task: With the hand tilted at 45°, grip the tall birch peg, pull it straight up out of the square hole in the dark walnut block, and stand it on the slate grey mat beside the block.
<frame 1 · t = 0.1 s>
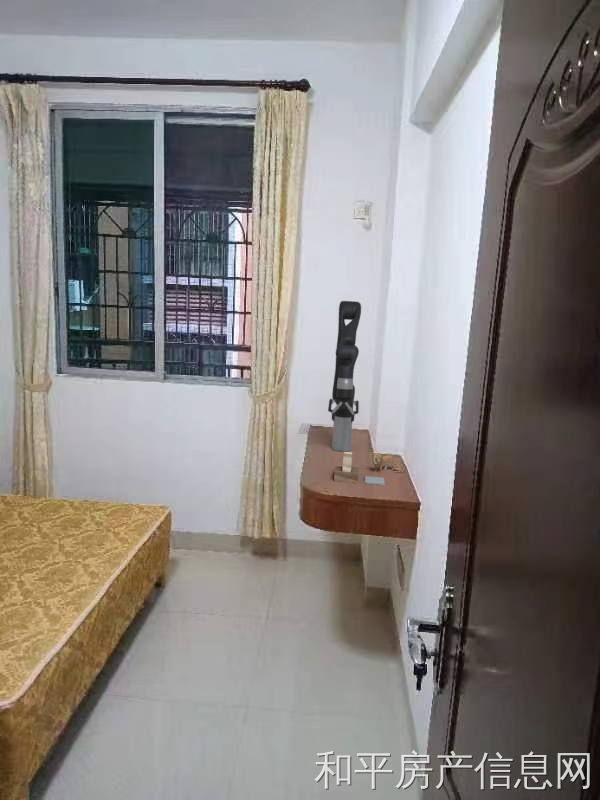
hand: (342, 421, 280), 17 cm above the table, tool pointing down, fingers open, 8 cm apart
slate mat: (374, 481, 250), on the table
lion figurine: (382, 471, 265), on the table
birch peg: (347, 465, 251), in the socket block
socket block: (346, 478, 253), on the table
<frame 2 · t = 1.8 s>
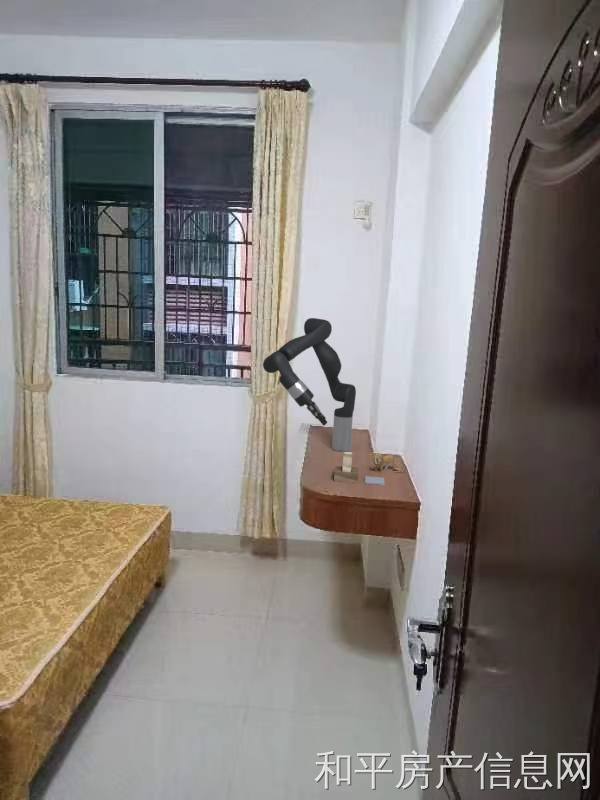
hand: (324, 422, 248), 24 cm above the table, tool tilted 45°, fingers open, 8 cm apart
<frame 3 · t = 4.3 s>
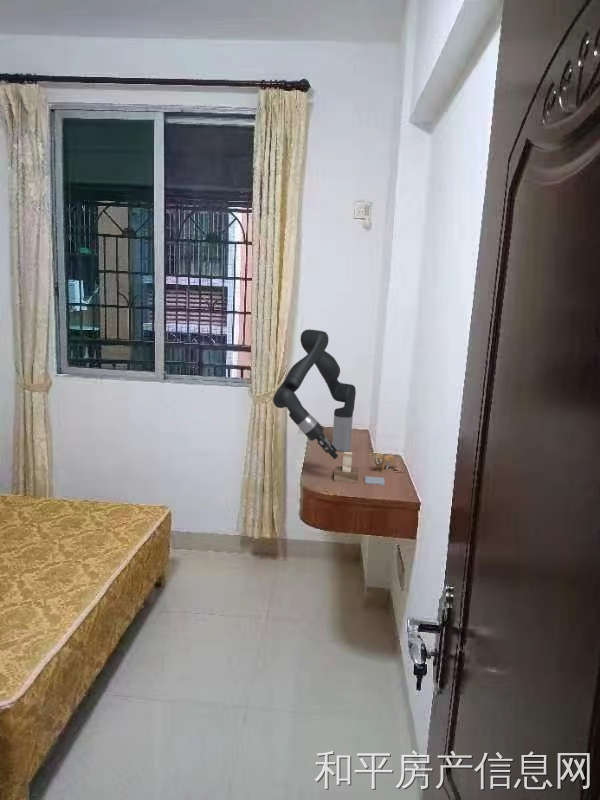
hand: (335, 454, 251), 10 cm above the table, tool tilted 45°, fingers open, 8 cm apart
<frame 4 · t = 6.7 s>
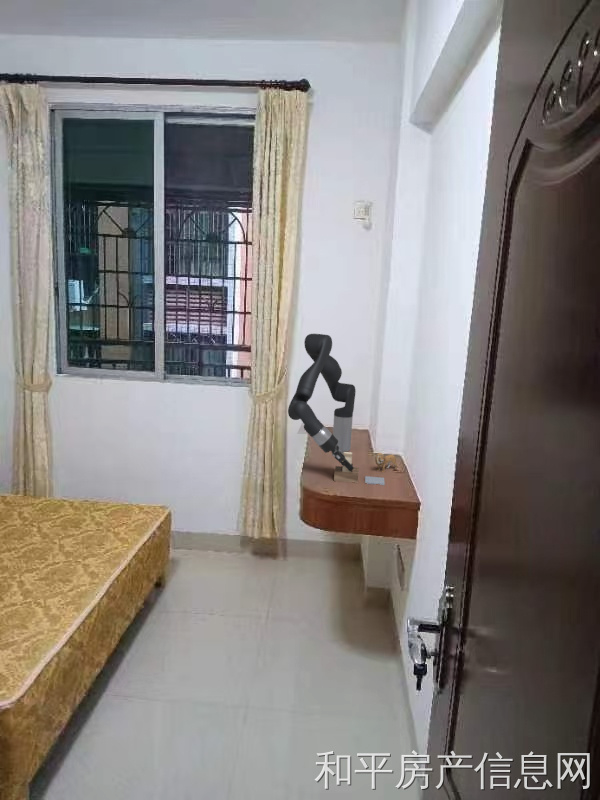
hand: (351, 467, 252), 5 cm above the table, tool tilted 45°, fingers closed on birch peg, 4 cm apart
birch peg: (347, 465, 251), in the socket block, touching gripper
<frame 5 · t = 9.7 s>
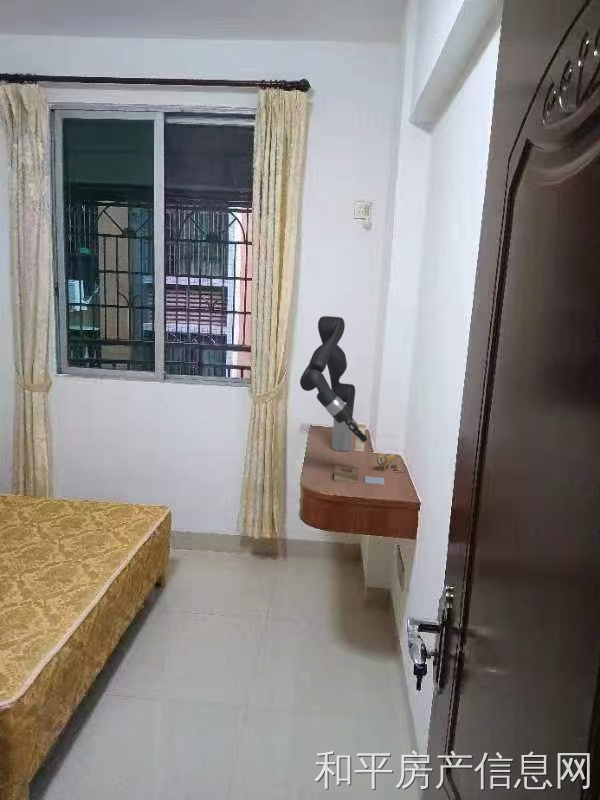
hand: (365, 439, 248), 18 cm above the table, tool tilted 45°, fingers closed on birch peg, 4 cm apart
birch peg: (360, 436, 248), point 19 cm above the table, touching gripper
when the fingers open (6 cm above the table, at t = 12.8 s): birch peg drops 1 cm, resting on slate mat.
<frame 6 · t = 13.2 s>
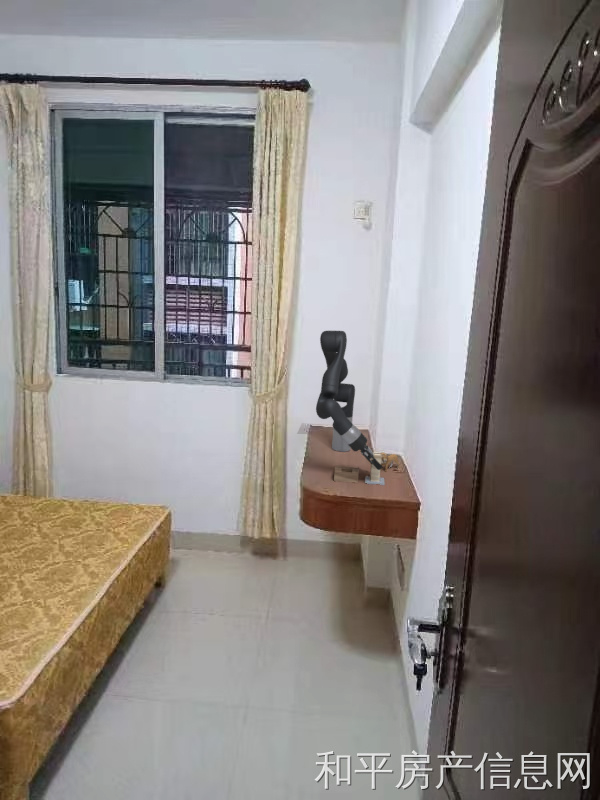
hand: (379, 465, 249), 7 cm above the table, tool tilted 45°, fingers open, 7 cm apart
birch peg: (375, 467, 249), on the slate mat, point 6 cm above the table
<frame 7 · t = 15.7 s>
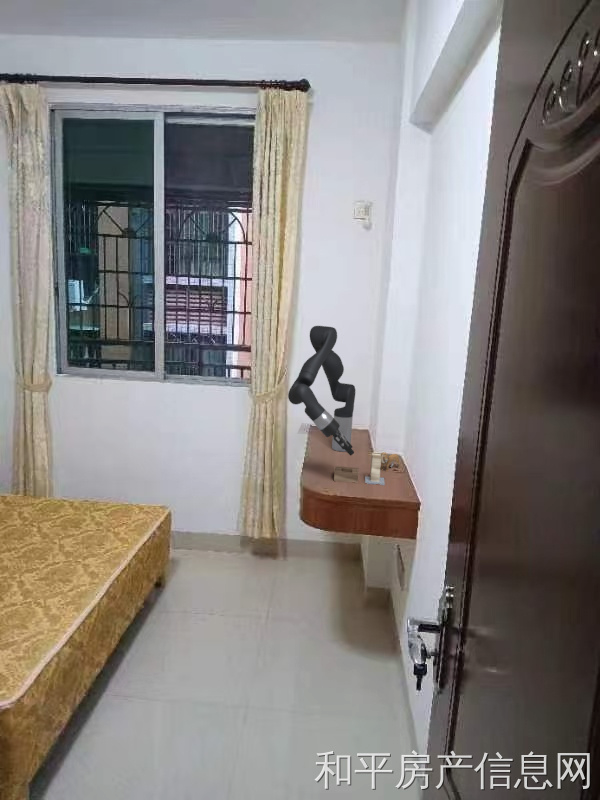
hand: (351, 451, 248), 13 cm above the table, tool tilted 45°, fingers open, 8 cm apart
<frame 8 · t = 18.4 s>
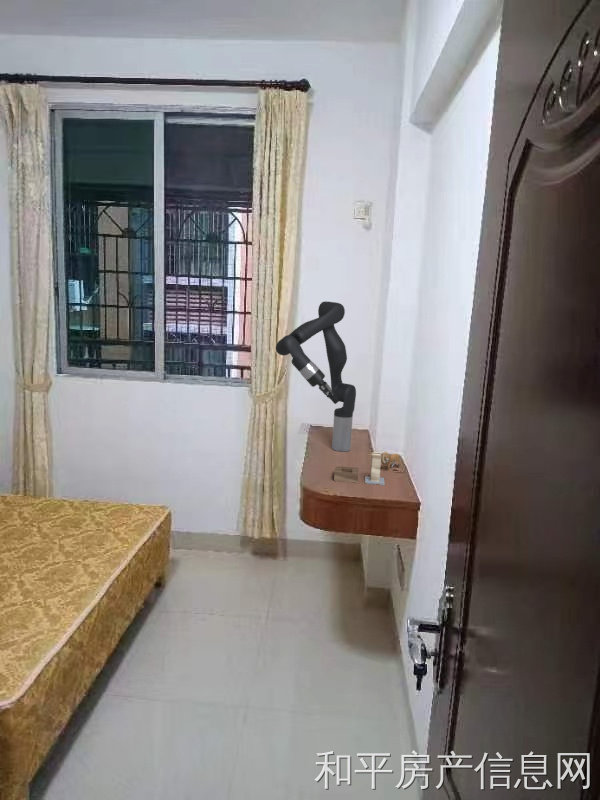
hand: (336, 400, 260), 31 cm above the table, tool tilted 45°, fingers open, 8 cm apart
at the end: birch peg inside the target area on the slate mat (0.1 cm from its centre), point 6.1 cm above the slate mat's base; birch peg tilted 0°; the gripper is holding nothing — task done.
